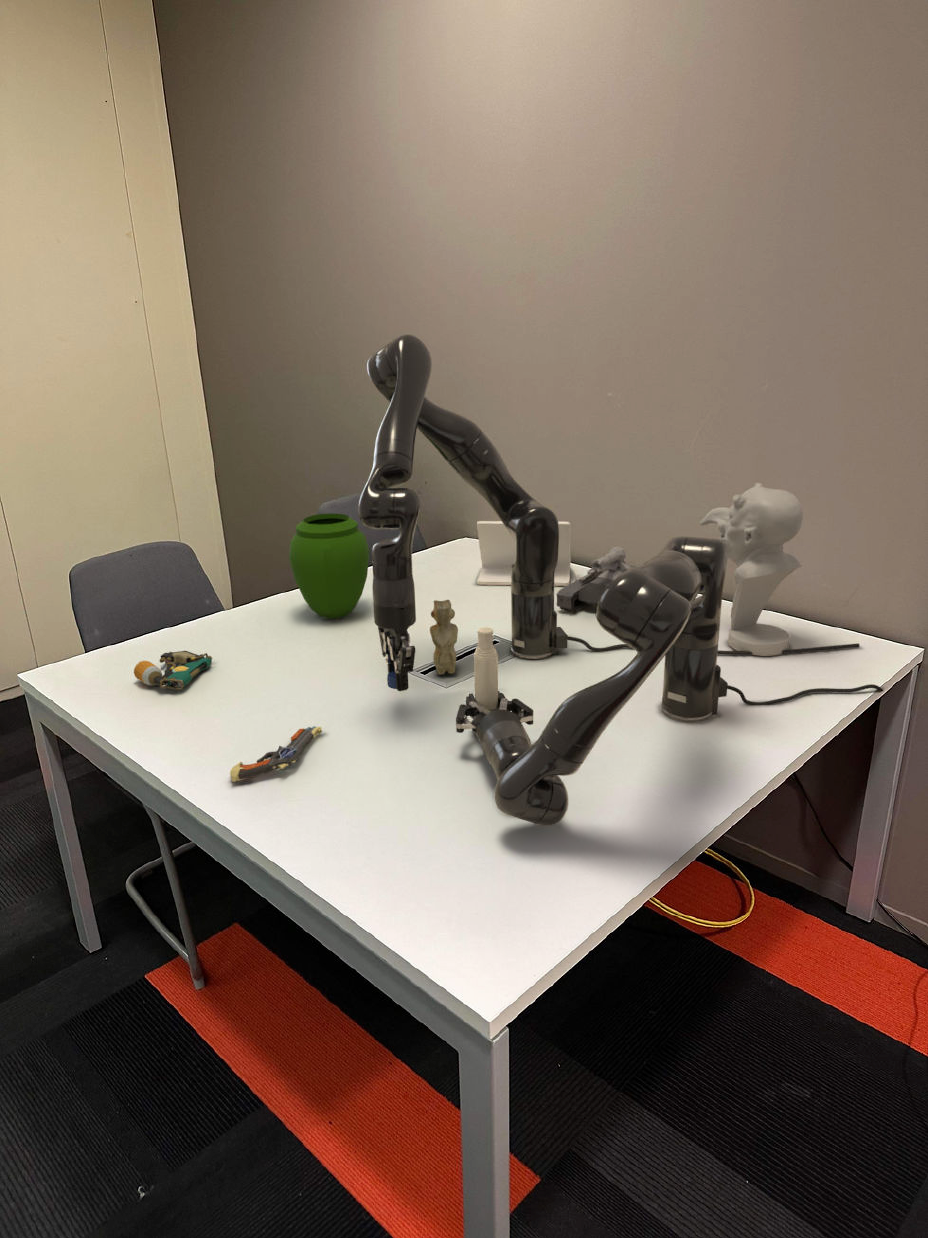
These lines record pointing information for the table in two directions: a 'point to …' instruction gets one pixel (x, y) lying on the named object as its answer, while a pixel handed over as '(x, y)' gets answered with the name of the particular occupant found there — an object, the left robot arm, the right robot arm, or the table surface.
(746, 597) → the bust sculpture
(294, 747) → the toy gun
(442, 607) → the sculpture
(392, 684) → the cap
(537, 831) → the table surface
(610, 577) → the toy
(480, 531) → the tablet stand
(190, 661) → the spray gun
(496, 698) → the bottle
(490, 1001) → the table surface
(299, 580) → the vase
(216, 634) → the table surface
